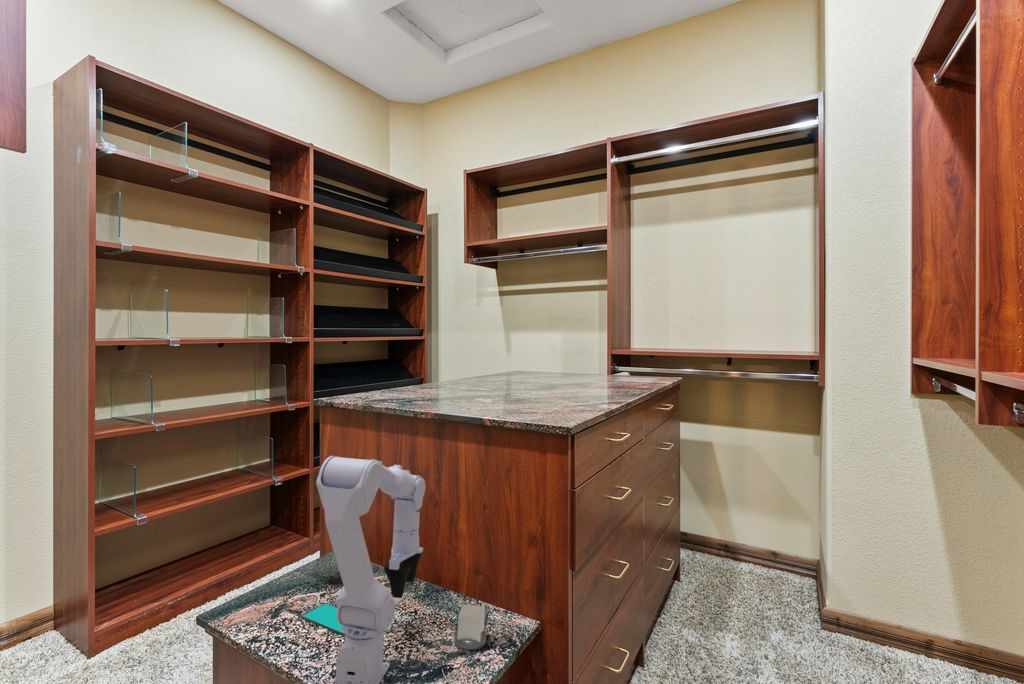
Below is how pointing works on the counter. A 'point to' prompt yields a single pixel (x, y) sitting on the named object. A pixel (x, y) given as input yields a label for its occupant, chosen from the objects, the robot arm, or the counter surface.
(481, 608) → the brushed metal cube
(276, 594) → the counter surface
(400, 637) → the counter surface
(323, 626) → the smartphone
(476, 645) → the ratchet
